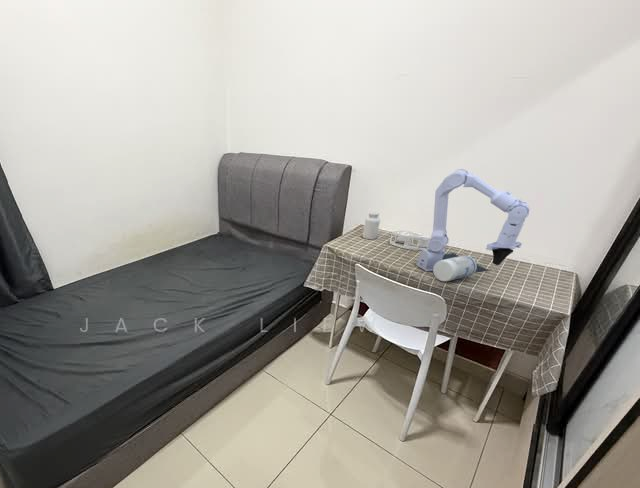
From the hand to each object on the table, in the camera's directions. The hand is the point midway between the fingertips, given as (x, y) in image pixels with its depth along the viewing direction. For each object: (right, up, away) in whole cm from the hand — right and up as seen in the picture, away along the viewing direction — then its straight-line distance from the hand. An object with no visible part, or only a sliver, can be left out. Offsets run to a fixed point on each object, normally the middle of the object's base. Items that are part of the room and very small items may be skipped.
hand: (496, 264), depth 127 cm
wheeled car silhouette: (-13, +13, +41) cm, 45 cm away
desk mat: (-2, +2, +21) cm, 21 cm away
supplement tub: (-7, 0, +8) cm, 10 cm away
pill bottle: (-30, +20, +55) cm, 66 cm away
